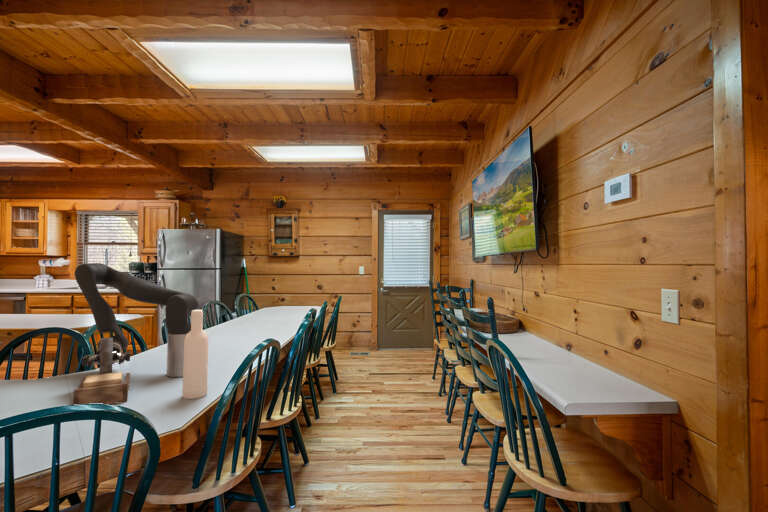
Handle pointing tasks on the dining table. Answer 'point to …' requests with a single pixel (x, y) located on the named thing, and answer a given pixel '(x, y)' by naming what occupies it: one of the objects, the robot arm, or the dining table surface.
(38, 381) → the dining table surface
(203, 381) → the bottle
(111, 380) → the wooden block with post
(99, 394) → the bay
